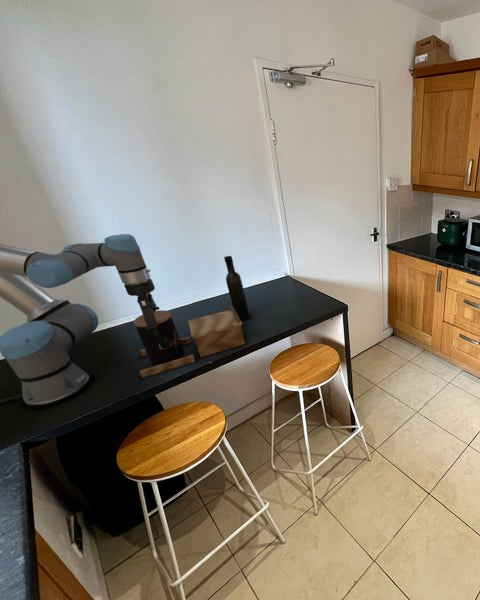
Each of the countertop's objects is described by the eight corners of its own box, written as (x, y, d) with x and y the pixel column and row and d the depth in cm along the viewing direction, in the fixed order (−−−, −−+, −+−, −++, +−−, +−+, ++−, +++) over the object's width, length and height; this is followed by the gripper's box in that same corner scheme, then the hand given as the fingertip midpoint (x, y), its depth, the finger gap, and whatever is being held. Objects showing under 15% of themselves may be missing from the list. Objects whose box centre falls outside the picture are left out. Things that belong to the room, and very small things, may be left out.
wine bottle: (236, 321, 144) (219, 259, 130) (236, 316, 148) (220, 255, 135) (250, 319, 146) (235, 257, 133) (249, 313, 150) (235, 254, 137)
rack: (142, 378, 109) (128, 349, 104) (142, 355, 121) (130, 328, 115) (247, 345, 127) (240, 319, 122) (239, 328, 139) (232, 303, 133)
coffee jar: (168, 368, 113) (151, 326, 105) (144, 365, 115) (125, 323, 107) (191, 351, 123) (177, 311, 115) (168, 348, 125) (153, 308, 117)
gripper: (151, 290, 98) (174, 346, 107) (151, 268, 116) (170, 317, 125) (120, 297, 94) (147, 354, 103) (125, 272, 112) (147, 323, 121)
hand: (160, 334), depth 114 cm, fingers open, 13 cm apart
